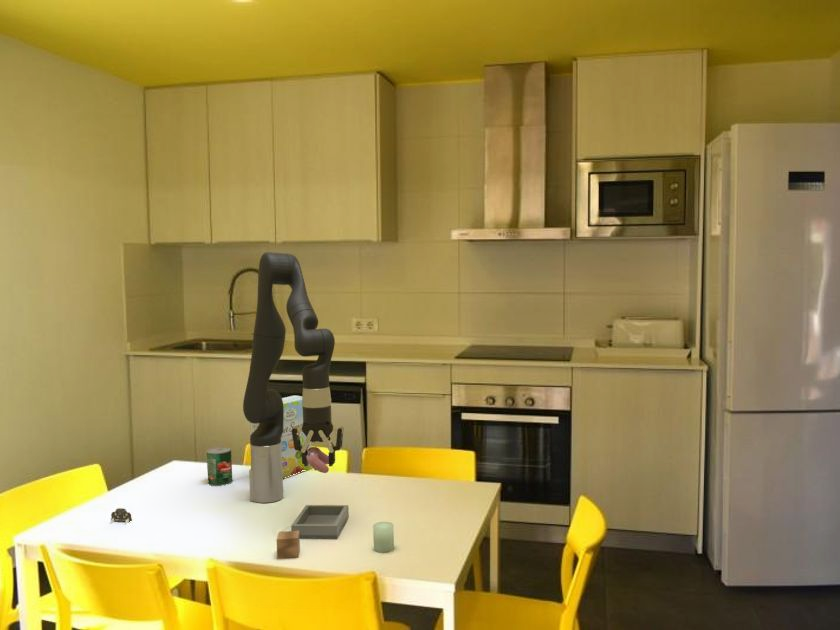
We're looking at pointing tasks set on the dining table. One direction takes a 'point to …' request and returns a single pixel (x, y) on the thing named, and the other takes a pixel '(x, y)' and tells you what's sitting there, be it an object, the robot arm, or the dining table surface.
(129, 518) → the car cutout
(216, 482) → the canned tomato
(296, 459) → the snack box
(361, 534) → the dining table surface
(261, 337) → the robot arm
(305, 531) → the charcoal tray
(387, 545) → the sage cylinder
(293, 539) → the walnut cube
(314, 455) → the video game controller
